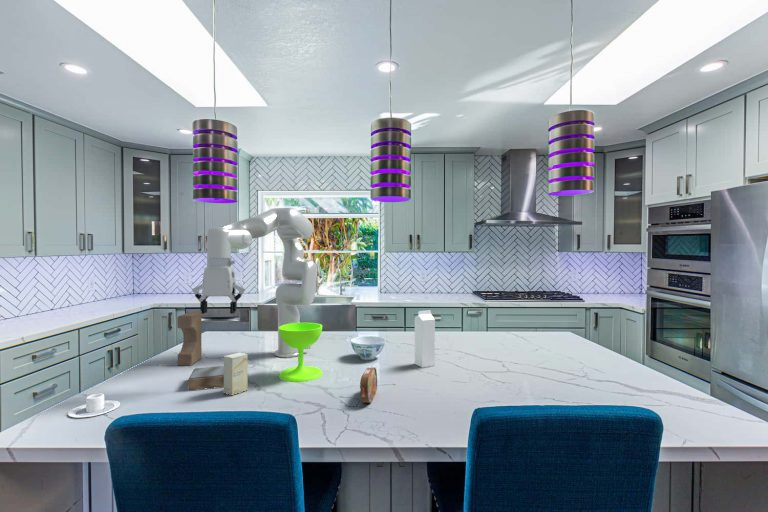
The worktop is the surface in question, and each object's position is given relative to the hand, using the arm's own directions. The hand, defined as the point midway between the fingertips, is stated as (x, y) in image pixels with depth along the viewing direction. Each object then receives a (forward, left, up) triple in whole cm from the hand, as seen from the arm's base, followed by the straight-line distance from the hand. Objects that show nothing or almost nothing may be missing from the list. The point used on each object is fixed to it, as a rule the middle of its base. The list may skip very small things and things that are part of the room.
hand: (218, 313), depth 130 cm
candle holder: (+32, +11, -25) cm, 42 cm away
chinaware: (-58, -16, -25) cm, 65 cm away
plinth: (+3, -3, -25) cm, 25 cm away
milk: (-77, +1, -25) cm, 81 cm away
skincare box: (-6, +9, -25) cm, 27 cm away
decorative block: (+14, -33, -25) cm, 43 cm away
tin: (-46, +27, -25) cm, 59 cm away
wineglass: (-28, -2, -25) cm, 37 cm away
